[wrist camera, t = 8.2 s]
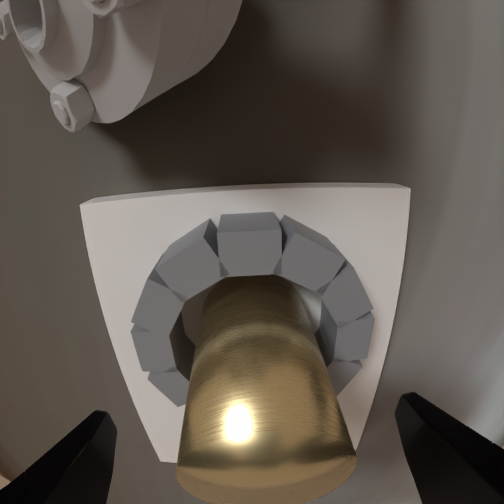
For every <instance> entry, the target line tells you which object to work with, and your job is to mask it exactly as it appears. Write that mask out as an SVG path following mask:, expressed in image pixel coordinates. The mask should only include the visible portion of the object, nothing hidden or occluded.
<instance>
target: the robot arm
mask: <svg viewBox="0 0 504 504" xmlns="http://www.w3.org/2000/svg"><path fill="white" fill-rule="evenodd" d="M395 418H396V422H397V426H398V430H399V433H400V437H401V441H402V445H403V449H404V453H405V456H406V459H407V462H408V465H409V467H410V470H411V473H412V475H413V478H414V481H415V484H416V487H417V489H418V492H419V495H420V498H421V501H422V504H504V449H503V448H501V447H499V446H498V445H496V444H495V443H492V442H491V441H490V440H488V439H487V438H485V437H483V436H482V435H480V434H479V433H477V432H475V431H474V430H472V429H471V428H469V427H468V426H466V425H464V424H463V423H461V422H460V421H458V420H457V419H455V418H454V417H452V416H450V415H449V414H447V413H446V412H444V411H443V410H441V409H440V408H438V407H437V406H435V405H434V404H432V403H430V402H429V401H427V400H426V399H424V398H423V397H421V396H420V395H418V394H417V393H415V392H410V393H406V394H403V395H402V396H401V397H400V400H399V403H398V405H397V408H396V411H395ZM116 438H117V429H116V426H115V424H114V422H113V420H112V418H111V416H110V414H109V413H108V412H106V411H100V410H96V411H94V412H93V413H92V414H90V415H89V416H88V417H87V418H86V419H85V420H84V421H82V422H81V423H80V424H79V425H78V426H77V427H75V428H74V429H73V430H72V431H71V432H70V433H69V434H67V435H66V436H65V437H64V438H63V439H62V440H60V441H59V442H58V443H57V444H56V445H55V446H53V447H52V448H51V449H50V450H49V451H48V452H46V453H45V454H44V455H43V456H42V457H41V458H39V459H38V460H37V461H36V462H35V463H34V464H32V465H31V466H30V467H29V468H28V469H27V470H25V472H23V473H22V474H20V475H19V476H18V477H17V478H16V479H14V480H13V481H12V482H11V483H9V484H8V485H7V486H5V487H4V488H2V489H1V490H0V504H106V502H107V497H108V492H109V487H110V483H111V478H112V473H113V465H114V455H115V446H116Z"/></svg>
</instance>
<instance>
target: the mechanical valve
mask: <svg viewBox="0 0 504 504" xmlns="http://www.w3.org/2000/svg"><path fill="white" fill-rule="evenodd" d="M241 4H242V0H4V1H2V2H0V38H1V39H2V40H3V41H5V40H7V39H8V38H10V37H12V36H14V35H15V34H16V35H17V38H18V41H19V43H20V45H21V48H22V50H23V52H24V54H25V56H26V58H27V60H28V61H29V63H30V65H31V67H32V69H33V70H34V72H35V73H36V75H37V76H38V78H39V79H40V81H41V82H42V83H43V85H44V86H45V87H46V88H47V89H48V91H49V92H50V93H51V94H50V102H51V106H52V109H53V112H54V114H55V116H56V118H57V119H58V120H59V122H60V123H61V124H62V125H63V127H64V128H65V129H67V130H69V131H70V132H73V133H76V132H78V131H79V130H80V129H82V128H83V127H84V126H86V125H87V124H89V123H90V121H92V122H95V123H112V122H115V121H118V120H121V119H123V118H124V117H126V116H127V115H129V114H130V113H132V112H133V111H135V110H136V109H138V108H139V107H141V106H143V105H144V104H146V103H147V102H149V101H151V100H152V99H154V98H156V97H157V96H159V95H161V94H162V93H164V92H166V91H167V90H169V89H171V88H172V87H174V86H176V85H177V84H179V83H181V82H183V81H184V80H186V79H188V78H190V77H191V76H193V75H195V74H197V73H198V72H199V71H200V70H201V69H202V68H204V67H205V66H206V65H207V64H208V63H209V62H210V61H211V60H212V59H213V58H214V57H215V55H216V54H217V53H218V51H219V50H220V49H221V47H222V46H223V45H224V43H225V42H226V40H227V38H228V36H229V34H230V32H231V30H232V28H233V26H234V24H235V22H236V20H237V17H238V13H239V10H240V7H241Z"/></svg>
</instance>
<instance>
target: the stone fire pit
mask: <svg viewBox="0 0 504 504" xmlns="http://www.w3.org/2000/svg"><path fill="white" fill-rule="evenodd" d="M410 192H411V189H410V188H408V187H405V186H402V185H399V184H396V183H350V182H327V183H275V184H250V185H230V186H213V187H199V188H186V189H173V190H162V191H151V192H141V193H132V194H123V195H114V196H106V197H98V198H93V199H91V200H89V201H87V202H84V203H82V204H80V210H81V216H82V222H83V228H84V234H85V239H86V244H87V249H88V254H89V259H90V263H91V268H92V272H93V277H94V281H95V285H96V289H97V293H98V297H99V300H100V304H101V308H102V311H103V315H104V318H105V322H106V325H107V329H108V332H109V335H110V338H111V341H112V344H113V347H114V350H115V353H116V356H117V359H118V362H119V365H120V368H121V371H122V373H123V376H124V379H125V381H126V384H127V387H128V389H129V392H130V394H131V397H132V399H133V402H134V404H135V407H136V409H137V411H138V414H139V416H140V418H141V421H142V423H143V425H144V428H145V430H146V432H147V434H148V436H149V438H150V441H151V443H152V445H153V447H154V449H155V451H156V453H157V455H158V457H159V459H160V461H161V462H174V463H177V458H178V451H179V444H180V438H181V431H182V425H183V418H184V412H185V406H186V400H187V394H188V388H189V382H190V376H191V370H192V364H193V359H194V353H195V347H196V342H197V337H198V331H199V326H200V321H201V315H202V310H203V306H204V302H205V300H206V298H207V296H208V294H209V293H210V291H211V290H212V289H213V288H214V287H215V286H216V285H217V284H218V283H219V282H221V281H222V280H224V279H225V278H227V277H234V276H253V275H271V274H275V275H277V276H279V277H281V278H283V279H285V280H286V281H287V282H289V283H290V284H291V285H292V286H293V287H294V288H295V289H296V291H297V292H298V294H299V296H300V297H301V300H302V303H303V305H304V308H305V311H306V313H307V316H308V319H309V321H310V324H311V327H312V330H313V332H314V335H315V338H316V341H317V343H318V346H319V349H320V352H321V354H322V357H323V360H324V363H325V365H326V368H327V371H328V374H329V377H330V380H331V382H332V385H333V388H334V391H335V394H336V397H337V400H338V402H339V405H340V408H341V411H342V414H343V417H344V420H345V423H346V426H347V429H348V432H349V435H350V438H351V441H352V444H353V447H354V450H356V449H357V446H358V444H359V441H360V438H361V435H362V433H363V430H364V427H365V424H366V421H367V418H368V415H369V412H370V409H371V406H372V402H373V399H374V396H375V393H376V389H377V386H378V382H379V379H380V375H381V371H382V368H383V364H384V360H385V356H386V352H387V348H388V343H389V339H390V335H391V330H392V325H393V321H394V316H395V311H396V305H397V300H398V294H399V289H400V283H401V276H402V270H403V263H404V255H405V247H406V239H407V229H408V219H409V207H410Z"/></svg>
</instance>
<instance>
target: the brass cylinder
mask: <svg viewBox="0 0 504 504" xmlns="http://www.w3.org/2000/svg"><path fill="white" fill-rule="evenodd" d="M356 464H357V456H356V453H355V450H354V447H353V444H352V441H351V438H350V435H349V432H348V429H347V426H346V423H345V420H344V417H343V414H342V411H341V408H340V405H339V402H338V400H337V397H336V394H335V391H334V388H333V385H332V382H331V380H330V377H329V374H328V371H327V368H326V365H325V363H324V360H323V357H322V354H321V352H320V349H319V346H318V343H317V341H316V338H315V335H314V332H313V330H312V327H311V324H310V321H309V319H308V316H307V313H306V311H305V308H304V305H303V303H302V300H301V297H300V296H299V294H298V292H297V291H296V289H295V288H294V287H293V286H292V285H291V284H290V283H289V282H287V281H286V280H285V279H283V278H281V277H279V276H277V275H275V274H271V275H253V276H234V277H227V278H225V279H224V280H222V281H221V282H219V283H218V284H217V285H216V286H215V287H214V288H213V289H212V290H211V291H210V293H209V294H208V296H207V298H206V300H205V302H204V306H203V310H202V315H201V321H200V326H199V331H198V337H197V342H196V347H195V353H194V359H193V364H192V370H191V376H190V382H189V388H188V394H187V400H186V406H185V412H184V418H183V425H182V431H181V438H180V444H179V451H178V458H177V465H176V477H177V480H178V482H179V483H180V485H181V486H182V487H183V488H184V489H185V490H186V491H187V492H189V493H190V494H192V495H193V496H195V497H197V498H199V499H201V500H203V501H206V502H209V503H211V504H302V503H305V502H308V501H311V500H314V499H317V498H319V497H321V496H323V495H325V494H327V493H329V492H331V491H333V490H334V489H336V488H337V487H339V486H340V485H341V484H343V483H344V482H345V481H346V480H347V479H348V478H349V477H350V476H351V474H352V473H353V471H354V470H355V467H356Z"/></svg>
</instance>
